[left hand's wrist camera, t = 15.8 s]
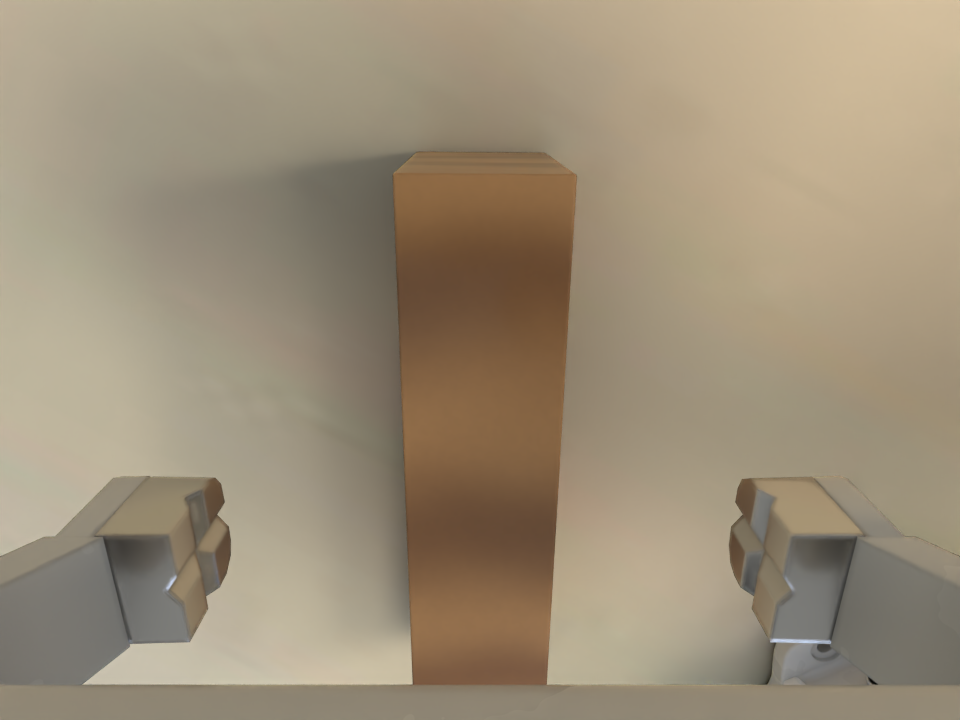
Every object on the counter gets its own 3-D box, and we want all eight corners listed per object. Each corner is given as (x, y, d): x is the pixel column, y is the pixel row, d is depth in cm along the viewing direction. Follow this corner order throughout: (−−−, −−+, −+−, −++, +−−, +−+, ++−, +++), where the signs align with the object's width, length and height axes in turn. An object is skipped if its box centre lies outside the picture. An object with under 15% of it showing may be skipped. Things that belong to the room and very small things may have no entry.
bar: (416, 151, 27) (392, 173, 19) (546, 152, 27) (577, 174, 19) (428, 621, 36) (416, 771, 28) (526, 621, 36) (541, 770, 28)
